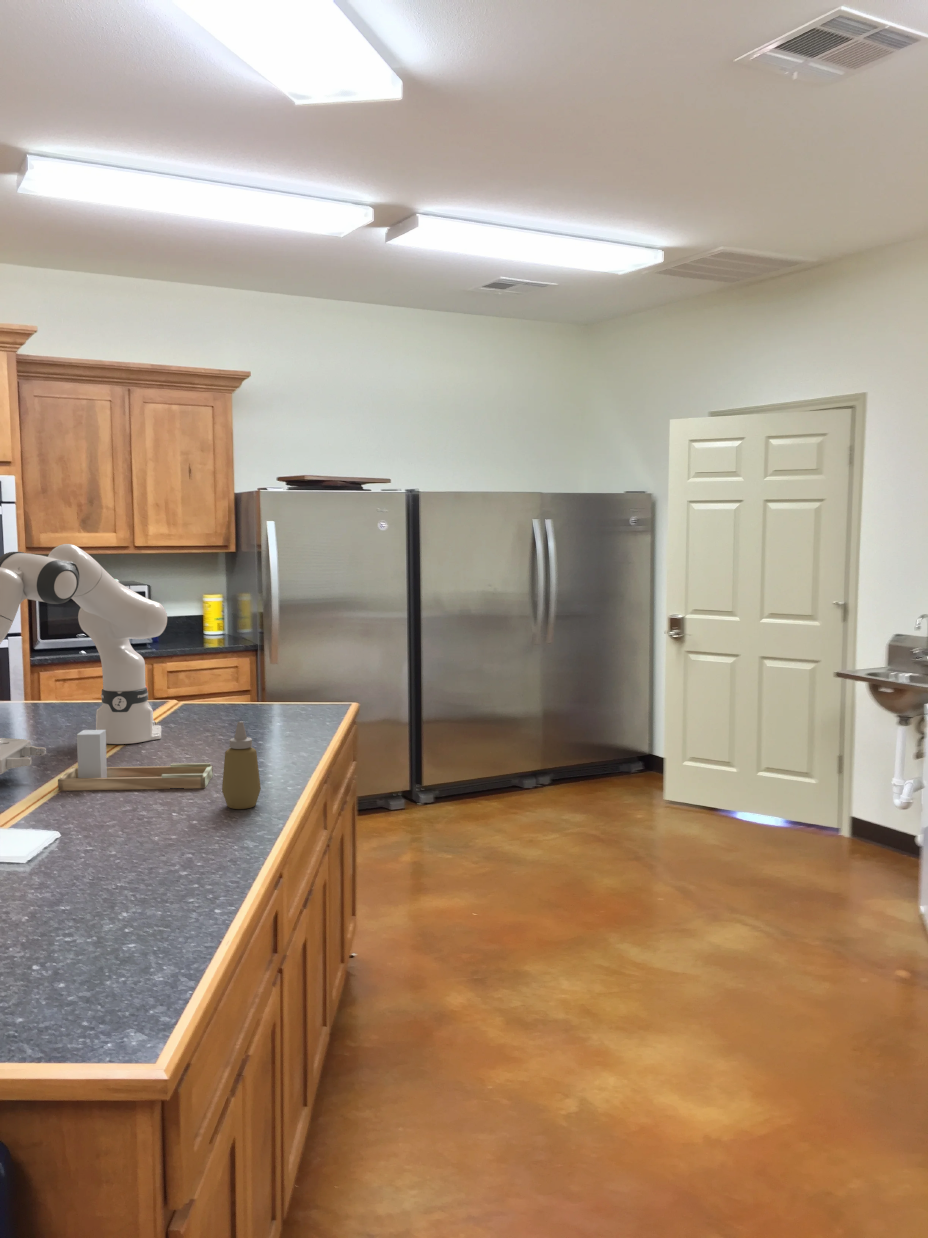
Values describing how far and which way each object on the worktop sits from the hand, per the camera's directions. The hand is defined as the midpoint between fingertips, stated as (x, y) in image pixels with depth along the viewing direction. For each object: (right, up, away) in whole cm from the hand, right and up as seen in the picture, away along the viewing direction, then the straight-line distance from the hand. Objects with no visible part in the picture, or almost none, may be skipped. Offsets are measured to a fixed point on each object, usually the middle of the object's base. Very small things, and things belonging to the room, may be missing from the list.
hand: (38, 756), depth 225 cm
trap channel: (+22, -6, +3) cm, 23 cm away
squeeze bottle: (+50, -9, -15) cm, 53 cm away
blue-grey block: (+12, -7, +2) cm, 14 cm away
